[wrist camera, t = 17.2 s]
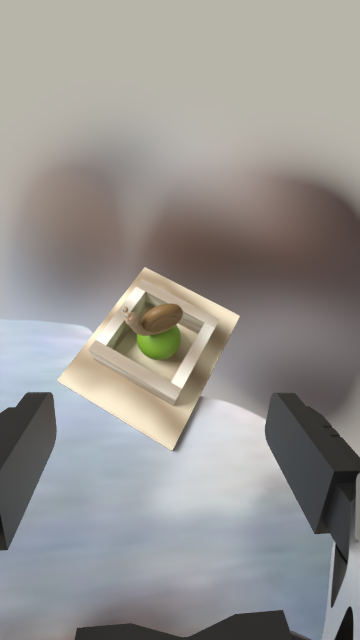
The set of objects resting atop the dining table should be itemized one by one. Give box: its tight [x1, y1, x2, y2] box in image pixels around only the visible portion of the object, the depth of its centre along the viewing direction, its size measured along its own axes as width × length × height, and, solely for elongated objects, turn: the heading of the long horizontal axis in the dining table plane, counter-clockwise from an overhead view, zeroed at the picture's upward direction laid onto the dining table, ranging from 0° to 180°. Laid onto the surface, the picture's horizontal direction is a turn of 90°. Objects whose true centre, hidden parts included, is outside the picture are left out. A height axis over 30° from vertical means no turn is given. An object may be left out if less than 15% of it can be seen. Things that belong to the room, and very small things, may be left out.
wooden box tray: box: [57, 268, 240, 451], centre depth 35 cm, size 20×16×5 cm
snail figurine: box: [123, 303, 183, 360], centre depth 31 cm, size 5×6×12 cm
